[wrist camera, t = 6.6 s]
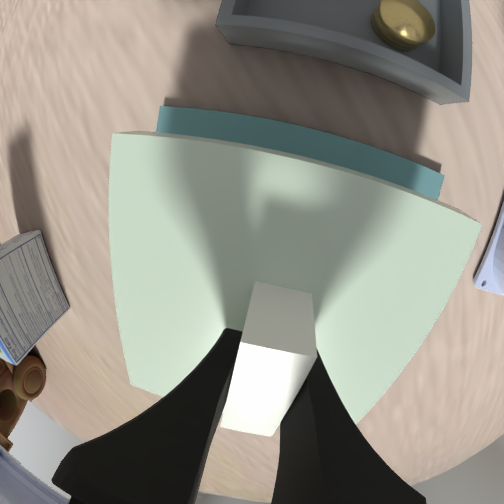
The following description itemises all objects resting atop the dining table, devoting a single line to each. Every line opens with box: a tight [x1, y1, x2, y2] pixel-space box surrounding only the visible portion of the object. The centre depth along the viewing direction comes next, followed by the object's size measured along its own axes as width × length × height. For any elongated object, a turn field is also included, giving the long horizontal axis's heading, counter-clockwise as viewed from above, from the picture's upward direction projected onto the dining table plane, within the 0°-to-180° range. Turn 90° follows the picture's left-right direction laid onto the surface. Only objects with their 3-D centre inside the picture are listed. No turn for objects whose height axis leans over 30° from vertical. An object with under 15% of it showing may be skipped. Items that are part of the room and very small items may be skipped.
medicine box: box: [0, 230, 70, 365], centre depth 15 cm, size 8×4×9 cm, turn 7°
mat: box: [156, 106, 444, 200], centre depth 16 cm, size 16×16×1 cm
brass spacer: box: [371, 0, 435, 51], centre depth 8 cm, size 3×3×2 cm
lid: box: [109, 131, 482, 436], centre depth 10 cm, size 13×13×5 cm
